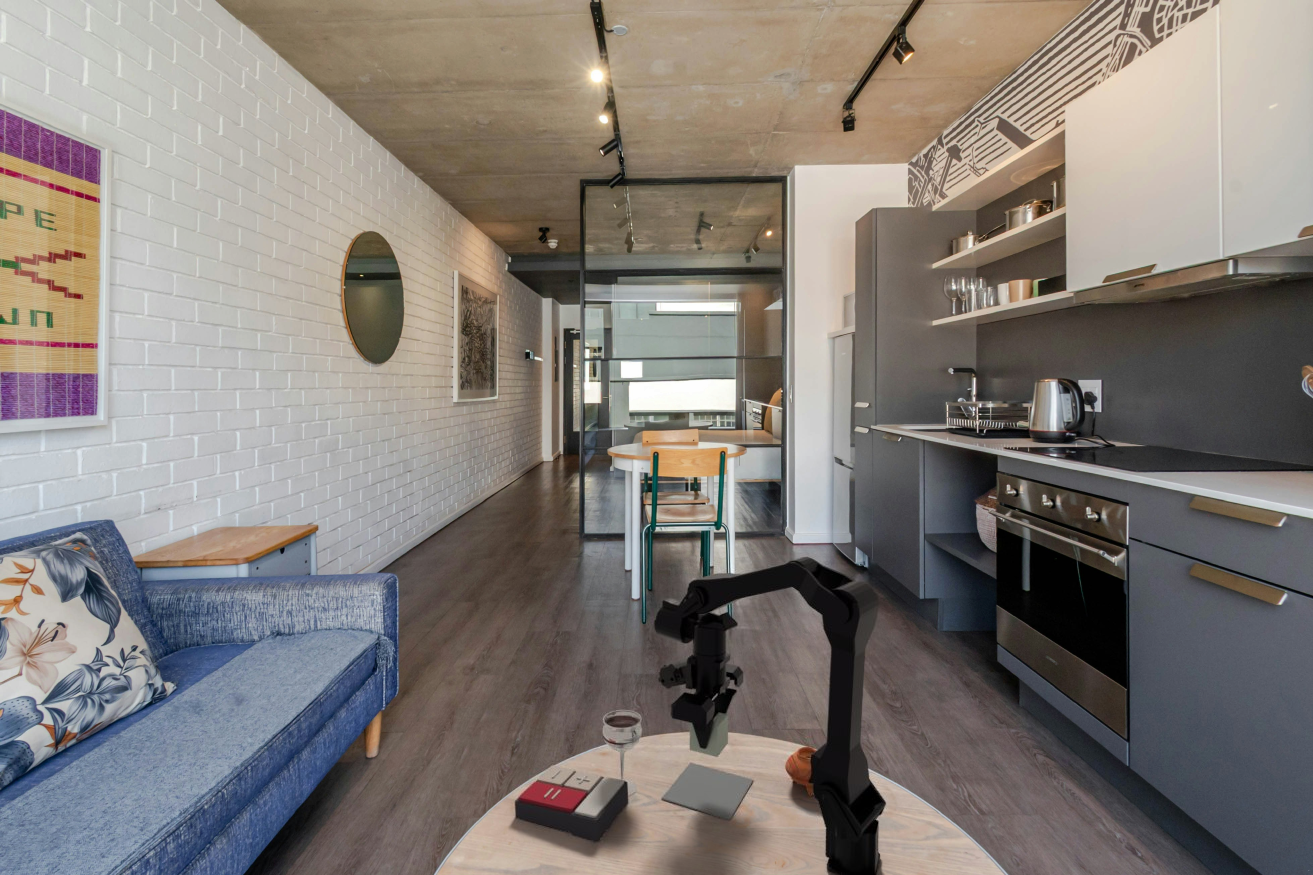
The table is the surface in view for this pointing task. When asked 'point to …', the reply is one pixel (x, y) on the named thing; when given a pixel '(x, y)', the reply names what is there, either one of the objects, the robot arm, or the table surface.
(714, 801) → the charcoal mat
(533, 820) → the calculator
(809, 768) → the pot
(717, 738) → the sage block
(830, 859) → the robot arm
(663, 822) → the table surface
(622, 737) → the wineglass
